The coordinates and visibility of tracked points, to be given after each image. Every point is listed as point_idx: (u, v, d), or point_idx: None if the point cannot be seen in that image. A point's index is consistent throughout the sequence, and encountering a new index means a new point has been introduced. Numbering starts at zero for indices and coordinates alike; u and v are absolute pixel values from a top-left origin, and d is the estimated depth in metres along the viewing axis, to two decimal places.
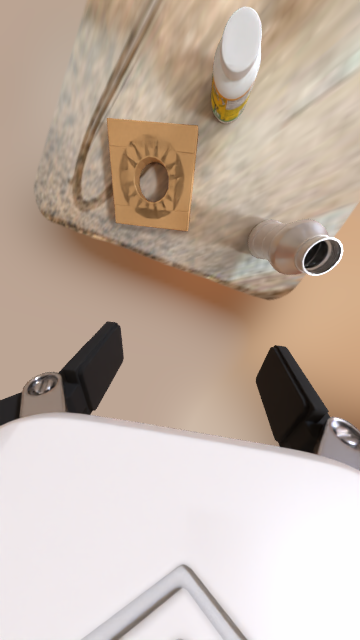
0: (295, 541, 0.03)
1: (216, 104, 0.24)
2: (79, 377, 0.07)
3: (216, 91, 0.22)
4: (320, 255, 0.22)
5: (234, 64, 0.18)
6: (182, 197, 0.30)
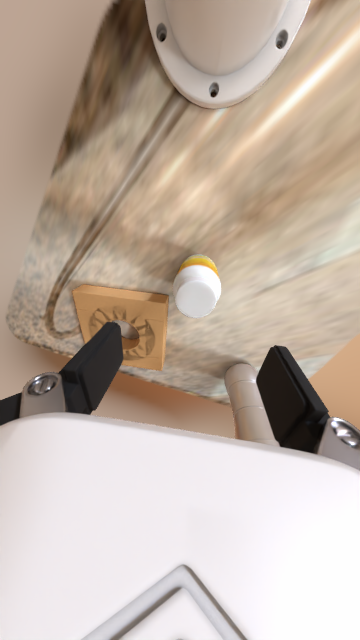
0: (295, 541, 0.03)
1: None
2: (79, 377, 0.07)
3: None
4: None
5: (190, 313, 0.17)
6: (154, 349, 0.29)
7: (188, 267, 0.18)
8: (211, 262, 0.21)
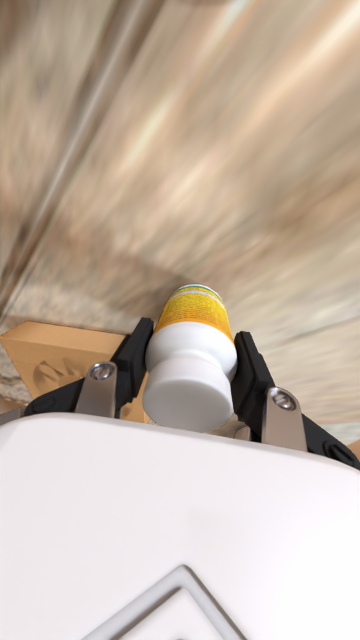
0: (295, 541, 0.03)
1: None
2: (129, 366, 0.08)
3: None
4: None
5: (176, 427, 0.08)
6: (132, 412, 0.20)
7: (173, 326, 0.09)
8: (217, 300, 0.13)
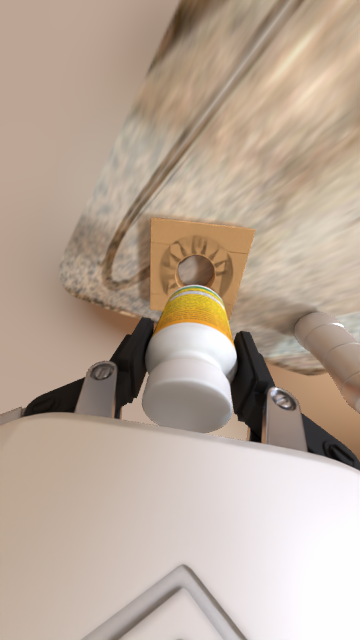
0: (295, 541, 0.03)
1: None
2: (129, 366, 0.08)
3: None
4: None
5: (176, 428, 0.08)
6: (228, 291, 0.27)
7: (173, 327, 0.09)
8: (217, 301, 0.13)
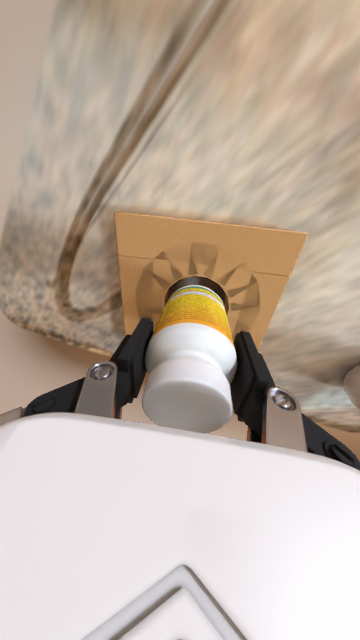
0: (295, 541, 0.03)
1: None
2: (129, 366, 0.08)
3: None
4: None
5: (176, 428, 0.08)
6: None
7: (173, 328, 0.09)
8: (217, 301, 0.13)
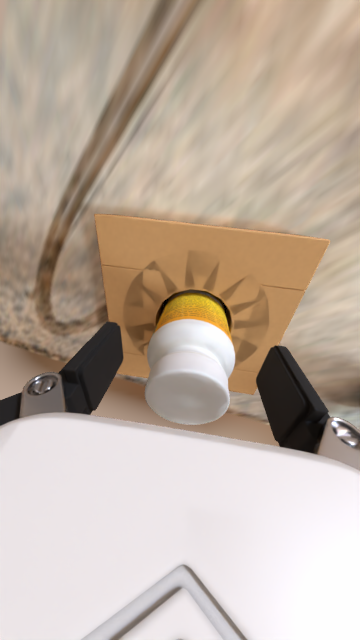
0: (295, 541, 0.03)
1: None
2: (79, 377, 0.07)
3: None
4: None
5: (176, 418, 0.09)
6: (256, 354, 0.14)
7: (173, 324, 0.09)
8: (215, 300, 0.13)
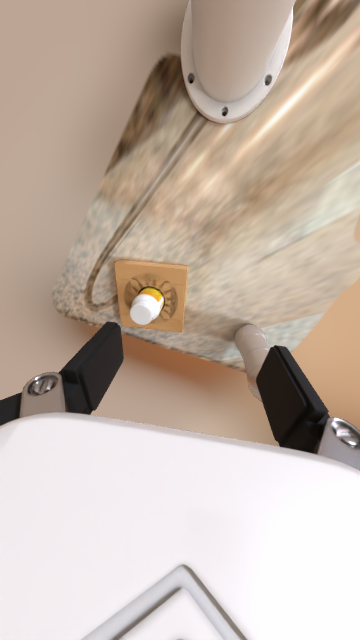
0: (295, 541, 0.03)
1: None
2: (79, 377, 0.07)
3: None
4: None
5: (139, 322, 0.30)
6: (177, 311, 0.36)
7: (138, 295, 0.31)
8: (158, 290, 0.35)
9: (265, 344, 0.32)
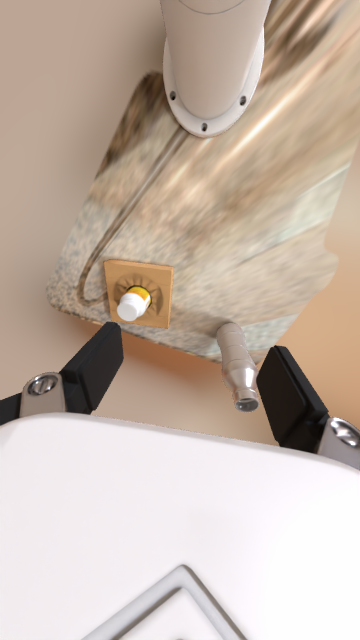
0: (295, 541, 0.03)
1: None
2: (79, 377, 0.07)
3: None
4: None
5: (126, 319, 0.33)
6: (162, 309, 0.38)
7: (126, 294, 0.33)
8: (145, 288, 0.37)
9: (241, 341, 0.35)
